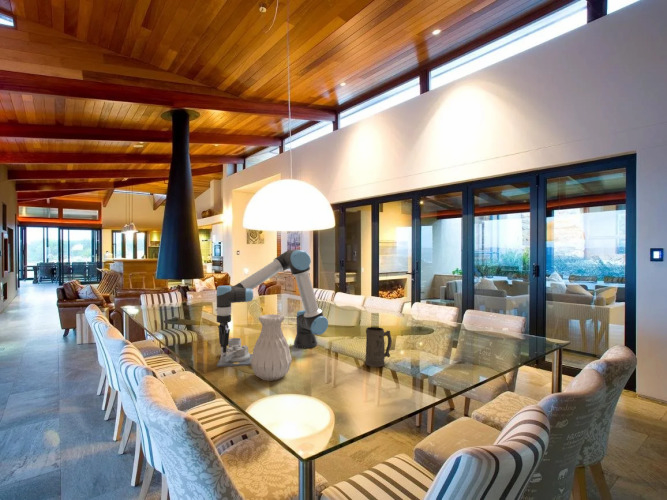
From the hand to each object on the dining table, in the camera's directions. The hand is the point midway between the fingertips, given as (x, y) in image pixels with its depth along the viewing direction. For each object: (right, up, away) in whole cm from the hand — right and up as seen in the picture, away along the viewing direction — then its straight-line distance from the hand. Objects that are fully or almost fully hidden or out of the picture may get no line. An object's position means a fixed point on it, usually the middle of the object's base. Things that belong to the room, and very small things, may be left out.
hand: (223, 358), depth 193 cm
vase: (+29, -5, -16) cm, 33 cm away
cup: (-2, -5, +22) cm, 23 cm away
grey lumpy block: (+4, -1, +5) cm, 6 cm away
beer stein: (+84, -5, +5) cm, 85 cm away
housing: (+5, -4, +9) cm, 12 cm away
